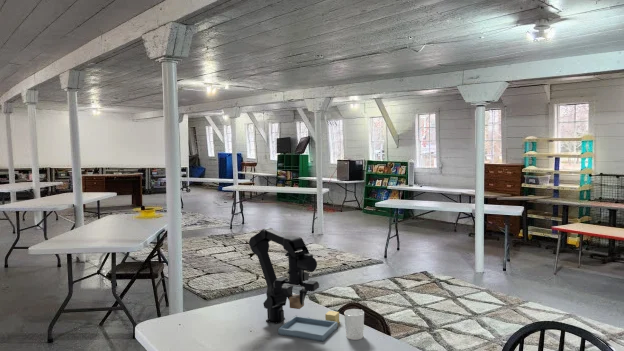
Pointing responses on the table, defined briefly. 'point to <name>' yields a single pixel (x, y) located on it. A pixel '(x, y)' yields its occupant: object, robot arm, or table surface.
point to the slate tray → (308, 328)
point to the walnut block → (295, 301)
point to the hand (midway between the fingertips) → (296, 304)
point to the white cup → (354, 323)
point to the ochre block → (332, 316)
